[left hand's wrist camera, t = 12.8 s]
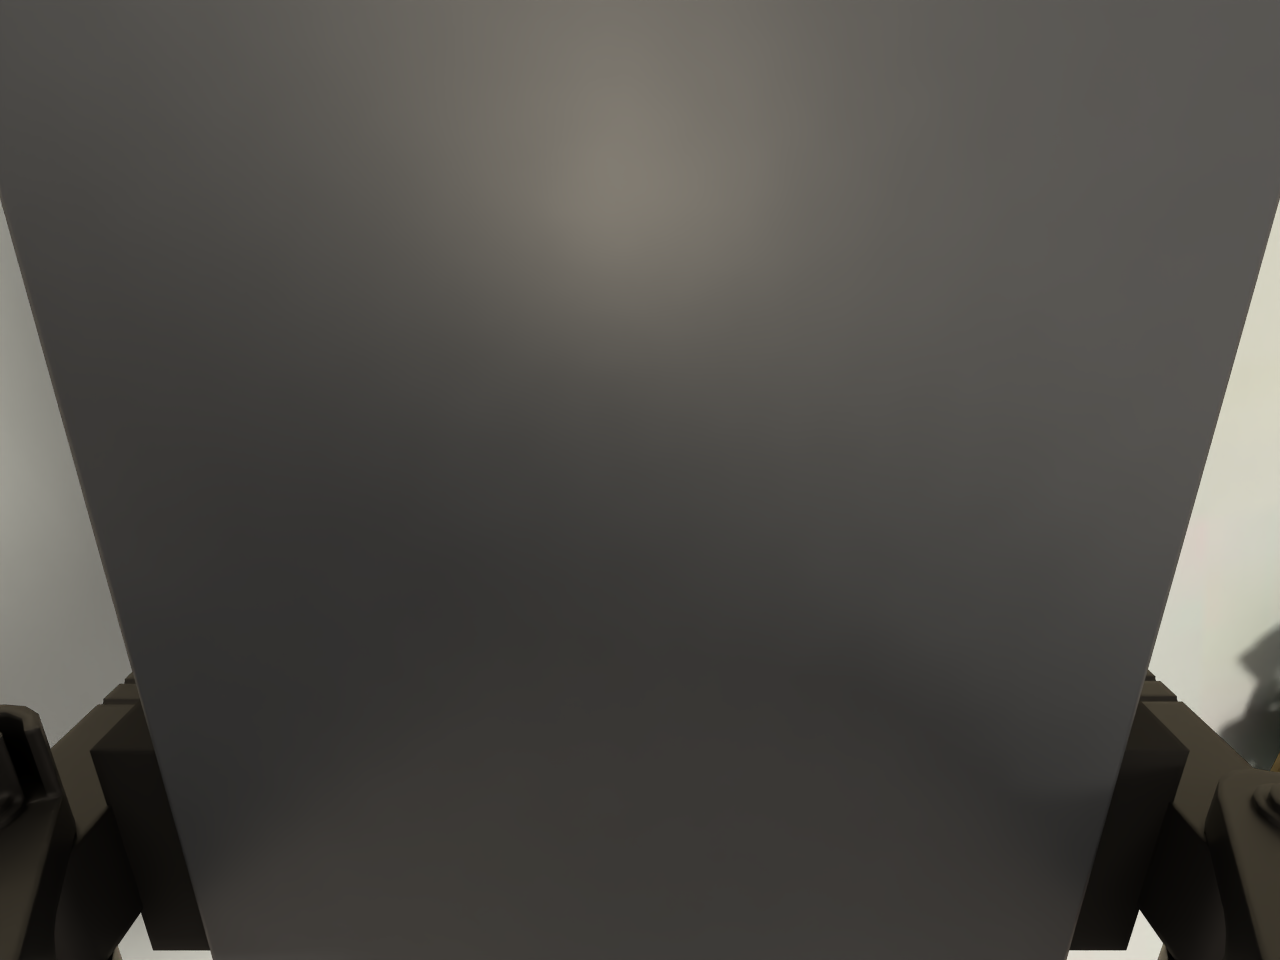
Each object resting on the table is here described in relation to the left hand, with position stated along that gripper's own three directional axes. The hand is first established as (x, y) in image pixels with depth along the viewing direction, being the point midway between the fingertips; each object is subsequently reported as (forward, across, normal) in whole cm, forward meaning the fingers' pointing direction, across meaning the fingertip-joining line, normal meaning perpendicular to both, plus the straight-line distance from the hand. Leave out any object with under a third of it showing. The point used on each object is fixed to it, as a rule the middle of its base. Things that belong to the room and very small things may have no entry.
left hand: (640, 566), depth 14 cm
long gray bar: (+1, 0, -28) cm, 28 cm away
